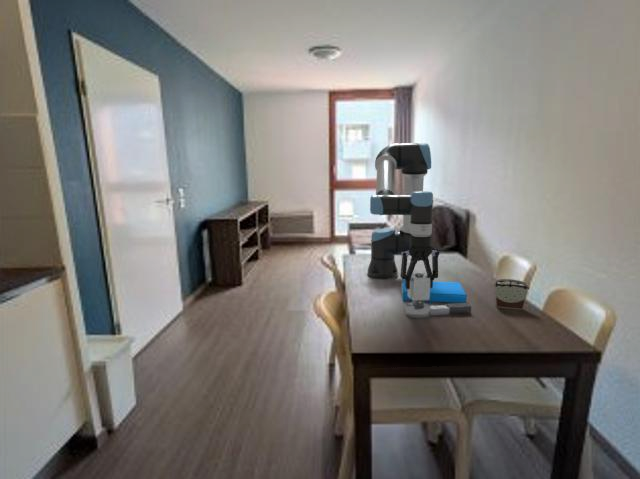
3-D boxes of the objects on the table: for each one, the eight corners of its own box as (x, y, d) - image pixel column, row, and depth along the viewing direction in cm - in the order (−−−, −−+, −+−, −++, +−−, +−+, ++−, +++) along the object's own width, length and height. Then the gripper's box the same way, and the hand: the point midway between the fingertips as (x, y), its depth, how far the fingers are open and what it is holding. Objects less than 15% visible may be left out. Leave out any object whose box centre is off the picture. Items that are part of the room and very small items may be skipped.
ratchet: (402, 310, 146) (402, 292, 145) (462, 307, 148) (464, 290, 147) (409, 319, 138) (410, 300, 136) (474, 316, 140) (475, 298, 138)
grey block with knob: (407, 294, 144) (408, 272, 142) (423, 294, 144) (424, 271, 143) (413, 300, 138) (413, 276, 136) (429, 299, 139) (430, 276, 137)
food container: (524, 304, 151) (527, 280, 149) (527, 310, 145) (529, 284, 143) (490, 301, 155) (492, 277, 153) (491, 306, 149) (493, 281, 147)
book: (401, 280, 173) (459, 281, 169) (400, 289, 174) (458, 290, 169) (402, 292, 156) (467, 294, 152) (402, 302, 157) (466, 304, 153)
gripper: (397, 237, 132) (396, 301, 137) (450, 236, 134) (447, 299, 138) (391, 233, 140) (390, 294, 144) (442, 232, 141) (439, 292, 145)
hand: (418, 296), depth 141 cm, fingers closed on grey block with knob, 6 cm apart
